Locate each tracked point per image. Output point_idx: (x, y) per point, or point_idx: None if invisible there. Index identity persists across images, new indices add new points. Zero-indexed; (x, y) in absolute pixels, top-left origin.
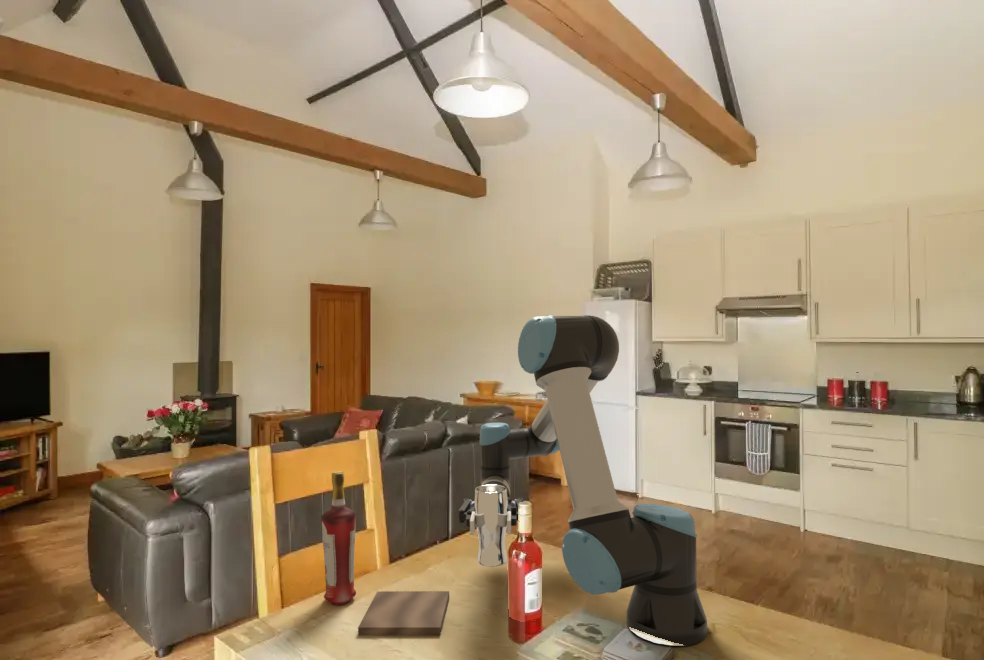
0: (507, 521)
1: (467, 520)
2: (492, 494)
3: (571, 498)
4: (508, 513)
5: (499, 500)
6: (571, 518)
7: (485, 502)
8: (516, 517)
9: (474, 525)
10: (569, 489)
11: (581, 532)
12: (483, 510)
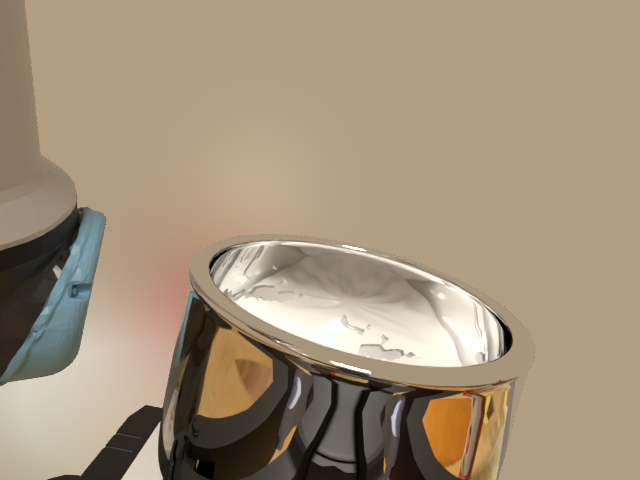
0: None
1: None
2: (331, 251)
3: (17, 146)
4: None
5: (279, 286)
6: (68, 203)
7: (364, 306)
8: (120, 428)
9: None
10: (14, 111)
11: (95, 211)
12: (366, 354)
